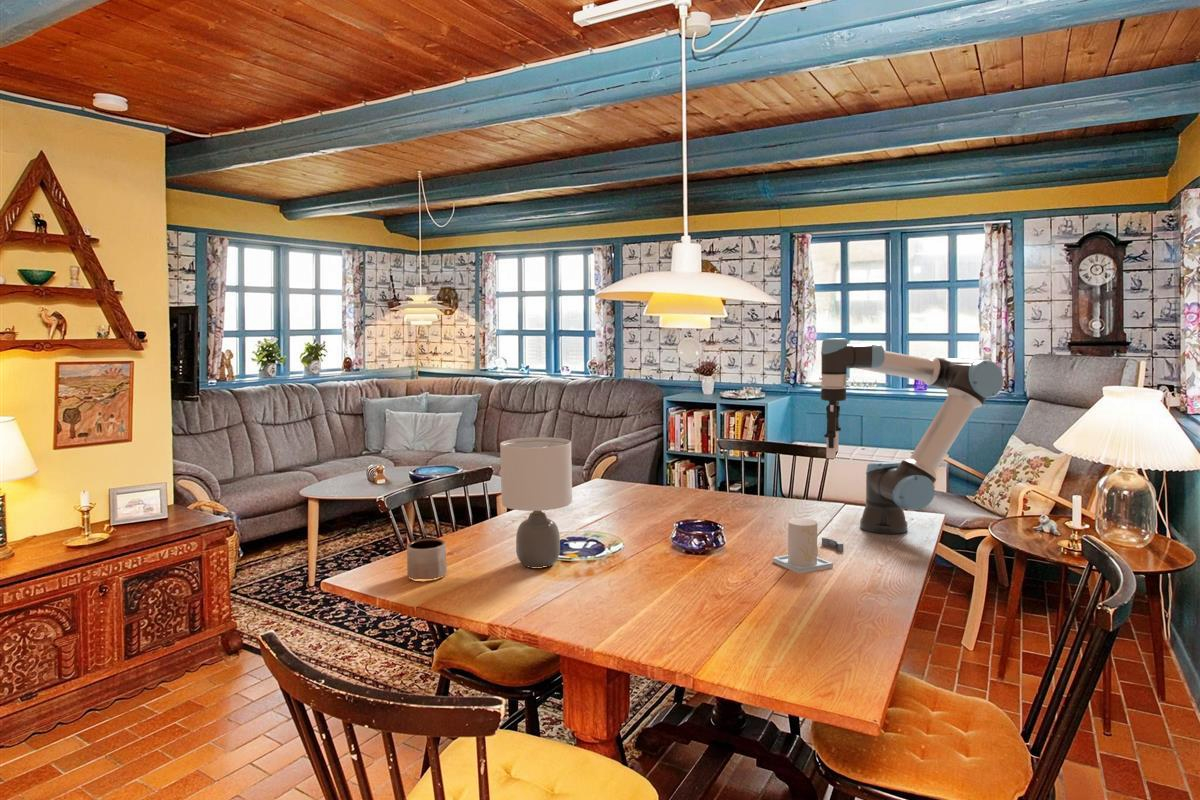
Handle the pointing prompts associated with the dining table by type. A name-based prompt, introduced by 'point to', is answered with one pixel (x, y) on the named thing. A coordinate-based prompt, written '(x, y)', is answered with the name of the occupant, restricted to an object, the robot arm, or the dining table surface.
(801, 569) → the tray
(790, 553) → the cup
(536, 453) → the lamp
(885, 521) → the robot arm
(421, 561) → the planter
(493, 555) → the dining table surface
